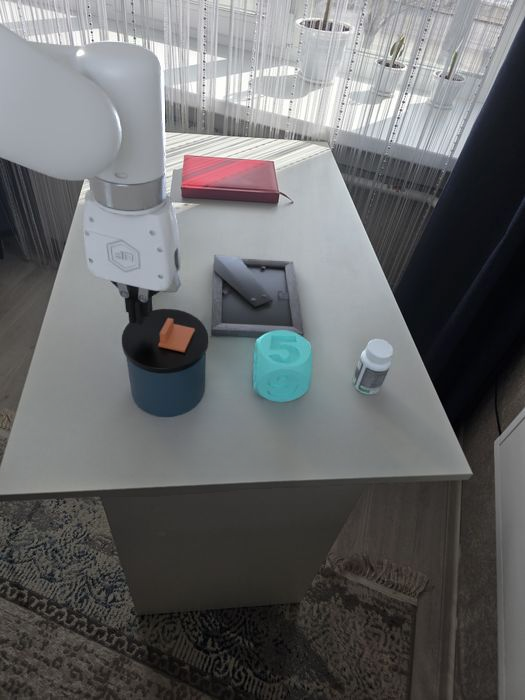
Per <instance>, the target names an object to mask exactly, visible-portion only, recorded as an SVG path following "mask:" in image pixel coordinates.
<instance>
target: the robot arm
mask: <svg viewBox="0 0 525 700" xmlns="http://www.w3.org/2000/svg"><path fill="white" fill-rule="evenodd" d="M165 124H166V121H165V79H164V69H163V64H162V63H161V60H160V58H159V57H158V56H157V55H156V53H154V51H152V50H150V49H149V48H147V47H144V46H142V45H140V44H136V43H133V42H127V41H119V40H98V41H93V42H89V43H86V44H84V45H70V44H58V43H48V42H42V41H41V42H39V41H32V40H27V39H25V38H24V37H23V36H21V35H20V34H18V33H16V32H14V31H13V30H11V29H10V28H9V27H7V26H5V25H4V24H2V23H0V159H1V158H2V159H4V160H7V161H9V162H11V163H14V164H16V165H19V166H21V167H24V168H27V169H29V170H32V171H33V172H37V173H38V174H39V173H40V174H43V175H45V176H48V177H50V178H54V179H57V180H62V181H63V180H64V181H72V182H74V181H75V182H76V181H84V180H85V181H86V180H88V182H89V183H88V184H89V189H88V190H87V191H86V192H85V194H84V200H83V212H82V213H83V214H82V215H83V216H82V231H83V232H82V233H83V249H84V256H85V263H86V267H87V270H88V272H89V273H90V274H91V275H92V276H94V277H97V278H100V279H103V280H106V281H110V282H111V283H112V284H113V285H114V286H115V288H117V289H118V293H119V295H120V296H121V297H122V298H123V299H124V307H125V312H126V313H127V314H128V323H129V322H130V323H137V324H138V325H142V324H143V323H144V321H145V319H146V318H147V317H150V316H151V314H152V311H153V310H154V307H153V297H154V296H156V295H157V294H159V293H161V292H162V293H177V292H178V290H179V288H180V287H181V285H182V284H181V280H180V277H179V271H180V269H181V242H180V235H179V234H180V233H179V225H178V221H177V216H176V214H177V213H176V210H175V206H174V203H173V200H172V199H173V198H172V197H171V196H169V195H167V168H166V167H167V165H166V163H167V162H166V125H165ZM161 275H162V276H161Z"/></svg>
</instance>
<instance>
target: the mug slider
mask: <svg viewBox="0 0 525 700" xmlns="http://www.w3.org/2000/svg"><path fill="white" fill-rule="evenodd" d="M194 331H195V329H194V328H189V327H185V326H180V325H176V324H173V319H170V318H168V319H167V321H166V322H165V324H164V326H163V328H162V330H161V332H160V342H159V344H158V346H159V347H163V348H167V349H171V350H176V351H180V352H185V350H186V348H187V346H188V344H189V342H190V340H191V337H192V335H193V333H194Z"/></svg>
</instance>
